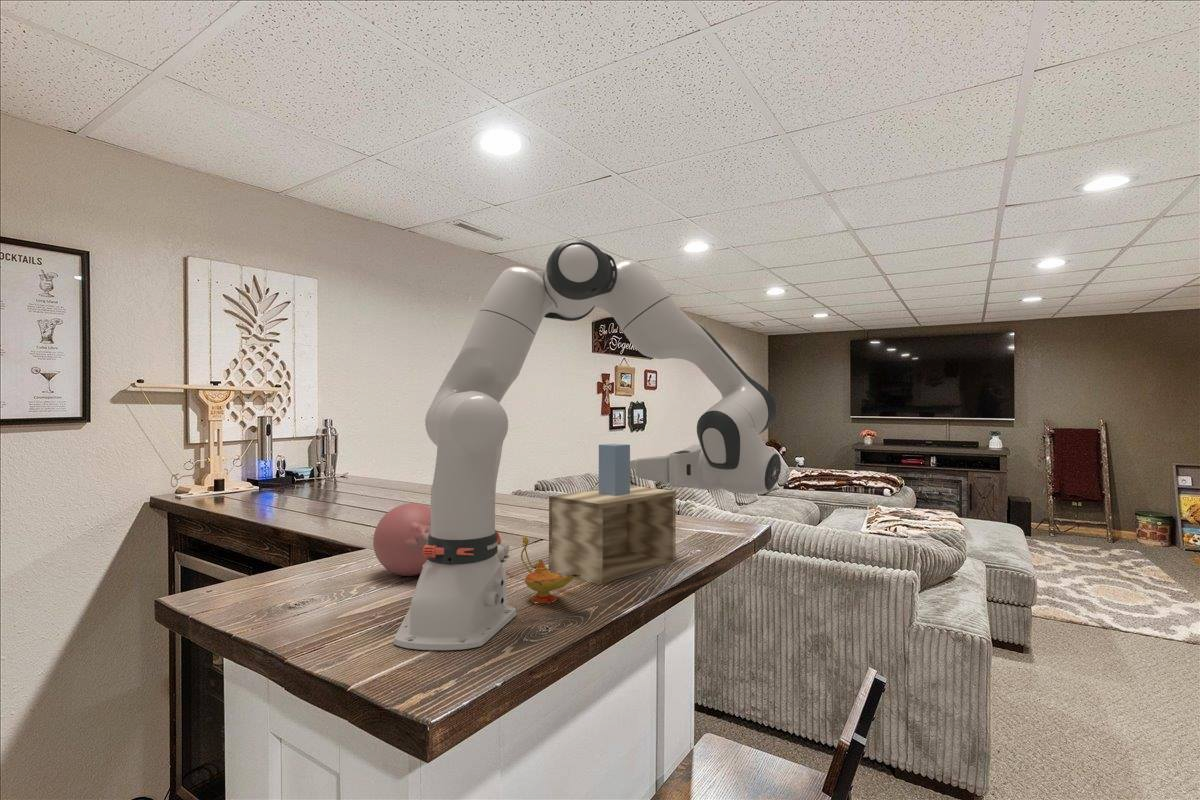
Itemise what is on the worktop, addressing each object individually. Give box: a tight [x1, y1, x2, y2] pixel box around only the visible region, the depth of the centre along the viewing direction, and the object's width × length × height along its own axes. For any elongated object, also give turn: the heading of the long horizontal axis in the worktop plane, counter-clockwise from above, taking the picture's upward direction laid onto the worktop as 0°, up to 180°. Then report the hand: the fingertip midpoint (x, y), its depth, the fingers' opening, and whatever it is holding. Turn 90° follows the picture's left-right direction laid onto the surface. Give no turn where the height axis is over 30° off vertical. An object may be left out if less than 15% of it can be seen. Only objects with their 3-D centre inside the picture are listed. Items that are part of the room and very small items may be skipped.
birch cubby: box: [548, 485, 677, 585], centre depth 132 cm, size 15×26×17 cm, turn 137°
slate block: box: [598, 443, 631, 496], centre depth 132 cm, size 5×5×11 cm
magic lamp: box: [520, 535, 581, 604], centre depth 110 cm, size 7×18×11 cm, turn 42°
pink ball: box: [372, 502, 431, 577], centre depth 126 cm, size 15×20×15 cm
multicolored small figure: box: [495, 529, 510, 562], centre depth 141 cm, size 8×10×7 cm
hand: (645, 462), depth 127 cm, fingers open, 8 cm apart
